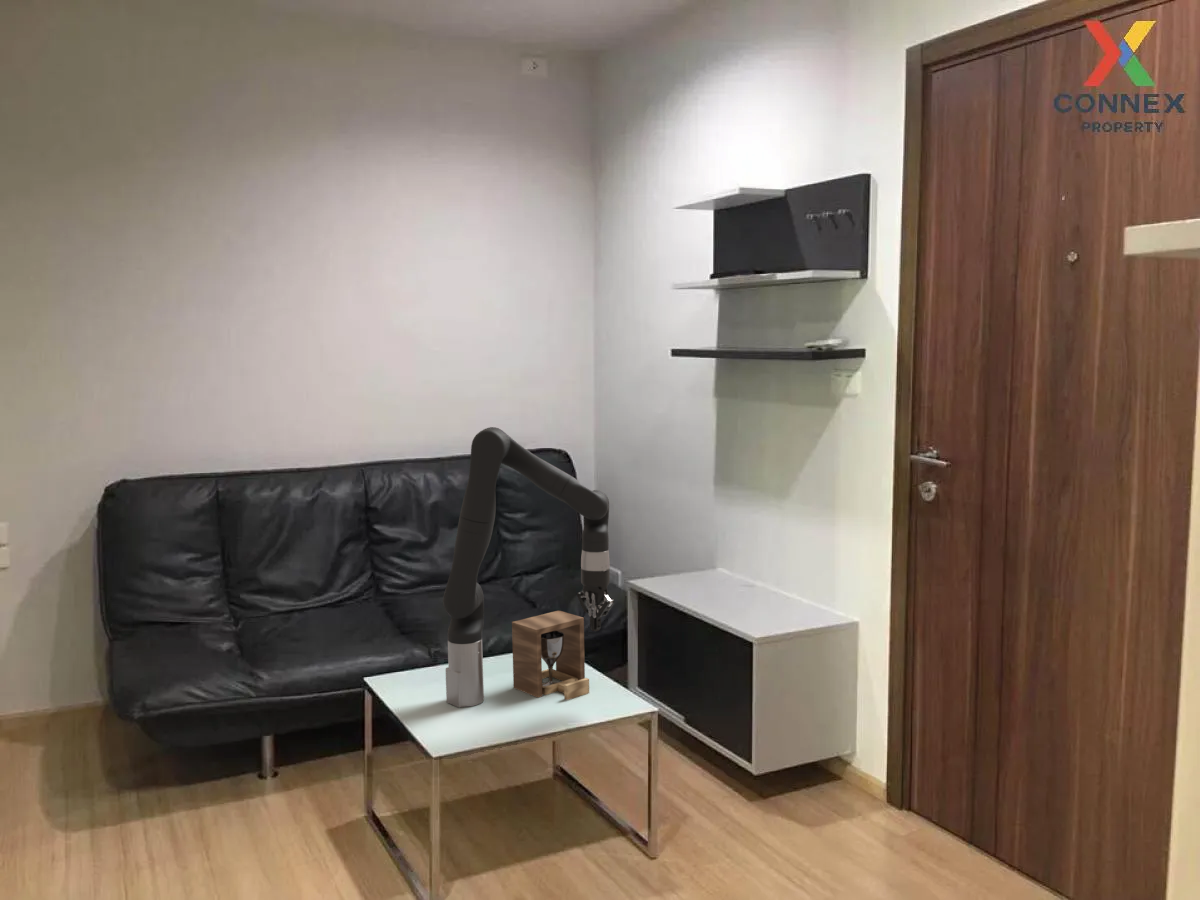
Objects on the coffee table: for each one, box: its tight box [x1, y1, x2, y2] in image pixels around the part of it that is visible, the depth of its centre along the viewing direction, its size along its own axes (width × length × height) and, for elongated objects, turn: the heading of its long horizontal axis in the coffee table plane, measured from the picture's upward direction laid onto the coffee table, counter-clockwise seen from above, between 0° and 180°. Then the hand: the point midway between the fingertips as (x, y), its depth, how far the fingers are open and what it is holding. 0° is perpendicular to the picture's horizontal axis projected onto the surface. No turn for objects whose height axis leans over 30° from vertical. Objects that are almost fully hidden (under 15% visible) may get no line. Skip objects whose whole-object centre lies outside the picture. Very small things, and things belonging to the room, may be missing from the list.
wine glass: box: [541, 631, 564, 686], centre depth 288 cm, size 8×8×15 cm
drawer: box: [542, 668, 590, 701], centre depth 287 cm, size 12×19×4 cm, turn 42°
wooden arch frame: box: [511, 610, 586, 698], centre depth 288 cm, size 17×11×19 cm, turn 132°
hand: (595, 630), depth 272 cm, fingers closed
